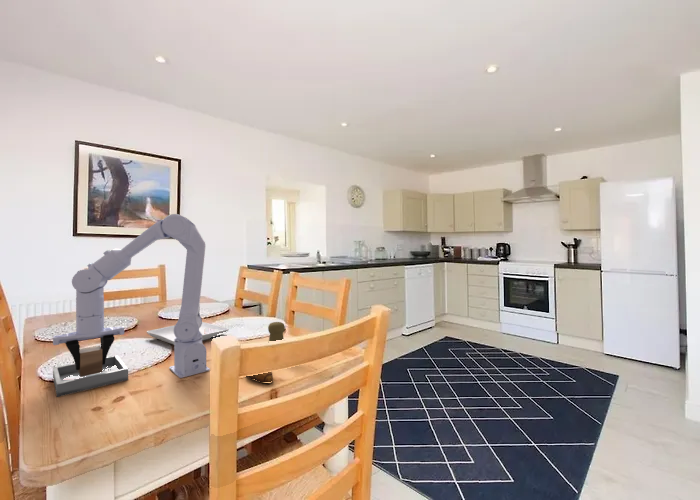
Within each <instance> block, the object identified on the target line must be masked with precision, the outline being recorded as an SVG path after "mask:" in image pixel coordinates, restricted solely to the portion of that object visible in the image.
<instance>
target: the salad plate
mask: <svg viewBox="0 0 700 500" xmlns="http://www.w3.org/2000/svg"><path fill="white" fill-rule="evenodd" d="M175 325H176V324H174V325H170V326H165V327H161V328H160V327H159V328H157V329H156V328H155V329H151V330H146V333H147V335H148V336H150V337H152V338H154V339H157V340H159V341H162V342H165V343H168V344H170V345H173V346H174V338H175V337H176V336H175V335H174V327H175ZM205 328H210V329H218V330H223V331H219V332H214V333H209V334H204V329H205ZM199 331H200V332H201V334H202V342H203V341H208V340H211V339H212V338H211V337H213V336H217V334H219V333H223V332H226V331H227V332H229V328H227V327H224V326H220V325H217V324H213V323H208V322H206V321H205V322H204V321H202V325H201V327H200V328H199ZM227 332H226V333H227ZM217 337H218V336H217ZM210 338H211V339H210Z"/></svg>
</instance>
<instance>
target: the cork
mask: <svg viewBox="0 0 700 500" xmlns="http://www.w3.org/2000/svg"><path fill="white" fill-rule="evenodd" d="M285 329H286V327H285V323H283V322H281V321H273V322H270V323H269V325H268V326H267V330H268V333H269V337H268V342H269V341H276V340H282V339H284V332H285ZM284 340H285V339H284Z"/></svg>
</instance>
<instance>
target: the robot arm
mask: <svg viewBox="0 0 700 500" xmlns="http://www.w3.org/2000/svg"><path fill="white" fill-rule="evenodd" d="M170 238H172V239H174V240H176V241H178V243H180V244H181V245H182V246H183V247H184V248H185V250H186V257H185V266H184V267H185V268H184V275H183V277H184V278H183V284H182V285H183V286H182V294H181V304H180V305H181V306H180V309H179V314H178V319H177V322H176V323H175V324H174V325H175V327H174V335H175V336H176V337H175V338H174V345H173V346H174V347H173V349H174V356H173V358H174V360H173V363H174V365H171V366H169V367H168V368H169V370H171V371H172V373H174V374H175V376H177V377H178V378H180V379H181V378H186V377H190V376H193V375H196V374H201V373H204V372H208V371H210V369H211V368H209V367H208V366H207V347H206V346H205V345H204V344H203V341H202V334H201V332H200V331H199V328H200V327H201V325H202V322H203V318H202V317H201V314H200V313H201V312H200V310H201V309H200V307H201V306H200V304H201V302H200V301H201V293H202V284H203V283H202V282H203V275H204V265H205V264H204V263H205V257H206V256H205V254H206V241H205V240H204V239H203V236H202V235H201V233H200V232H199V230H198V228H197V226H196V225H195V224H194V223H193V222H192V221H191V220H190V219H189V218H187V217H185V216H184V215H181V214H178V213H172V214H169V215H167V216H165V217H164V218H163V219H161V220H158V221H157V222H155V223H153V224H152V225H151V226H149V227H148V228H146V229H145V231H143V232H142V233H140V234H139V235H138V236H137V237H136V238H134V239H133V240H132V241H130V242H129V243H128V244H126V245H125V246H124V247H123V248H121V249H120V248H113V249H112V250H110V249H109V250H108V249H107V250H105V251H103V256H101V257H100V258H99V259H97V260H96V261H94V262H90V263H88V264H87V265H86V267H88V268H86V269H85V268H84V269H80V270H78V271H77V272H76V273H75V274H74V275H73V277H72V278H71V285H72V288H74V289H75V290H76V291H75V293H76V295H75V297H76V298H75V311H76V312H75V325H76V326H75V328H76V329H75V331H72V332H67V333H62V334H59V335H53V336H52V345H53V346H57V345H58V346H59V345H61V344H65V346H66V348H67V351H69V353H70V354H71V357H72V358H73V361H74V363H75V366H76V370H80V360H79V350H80V349H81V348H80V347H81V346H80V341H85V340H93V339H97V338H98V339H99V338H100V347H101V348H102V365H104V364H105V360H106V357H108V353H109V351H110V349H111V347H112V346H113V343H114V341H115V336H117V335H120V336H122V335H125V327H124V326H123V325H122V326H121V325H120V326H113V327H111V326H110V327H105V295H104V287H106V285H107V284H108V281H111V280H112V279H113V278H114V277H116V276H117V275H119V274H121V272H122V271H124V270H126V269H127V268H128V267H129V266H131V262H132V258H134V257H135V256H136V255H137V254H139V253H140V252H142V251H143V250H145V249H146V248H148V247H150V246H151V245H152V244H154V243H155V242H156V241H159V240H165V239H170Z"/></svg>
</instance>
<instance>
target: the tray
mask: <svg viewBox="0 0 700 500" xmlns="http://www.w3.org/2000/svg"><path fill="white" fill-rule="evenodd" d="M114 365H116V366H117V368H118V369H119V370H115V371H111V369H110V371H109V369H108V372H107V371H105V369H107V368H111V367H112V366H114ZM107 366H108V367H107ZM106 367H107V368H106ZM103 369H104V370H103ZM102 370H103V371H102V372H101V373H96V374H91V375H87V376H86V377H85V376H82V377H83V378H79V379H74V380H63V379H64V378H66V377H68V376H69V377H70V375H73V376H78V375H79V376H80V374H79V372H78V370H76V366H75V362H74V363H70V364H64V365H59V366H54V367H52V379H53V378H54V381H53V386H54V389H55V395H56V398H59V397H60V398H61V397H63V396H68V395H72V394H76V393H80V392H84V391H88V390H92V389H97V388H100V387H105V386H109V385H114V384H117V383H120V382H121V383H122V382H125V381H129V368H128V366H127V365H126V364H125V362H124V361H123V360H122V359H121V358H120V356H119V355H118V354H116V355H112V356H111V355H109V356H107V357H106V360H105V364H104V365H102Z"/></svg>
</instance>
